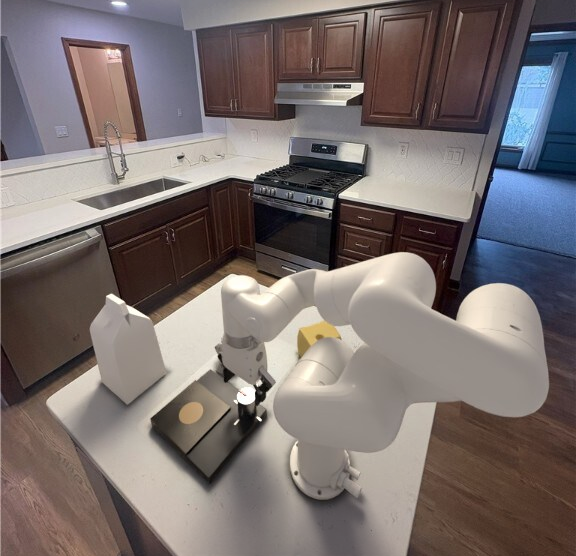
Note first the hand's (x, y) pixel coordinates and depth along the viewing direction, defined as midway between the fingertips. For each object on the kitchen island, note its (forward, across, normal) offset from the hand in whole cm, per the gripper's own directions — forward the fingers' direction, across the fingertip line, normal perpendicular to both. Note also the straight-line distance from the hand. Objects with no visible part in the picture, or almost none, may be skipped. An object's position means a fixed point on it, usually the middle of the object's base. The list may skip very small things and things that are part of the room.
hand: (244, 389), depth 72 cm
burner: (+7, +9, +8) cm, 14 cm away
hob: (+9, +6, +6) cm, 12 cm away
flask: (+9, +14, -8) cm, 18 cm away
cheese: (+9, -6, -25) cm, 27 cm away
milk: (+10, +32, +10) cm, 35 cm away
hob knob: (+7, -1, 0) cm, 7 cm away
